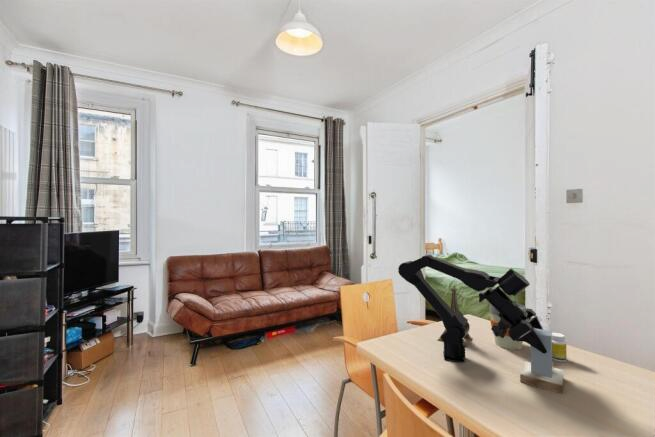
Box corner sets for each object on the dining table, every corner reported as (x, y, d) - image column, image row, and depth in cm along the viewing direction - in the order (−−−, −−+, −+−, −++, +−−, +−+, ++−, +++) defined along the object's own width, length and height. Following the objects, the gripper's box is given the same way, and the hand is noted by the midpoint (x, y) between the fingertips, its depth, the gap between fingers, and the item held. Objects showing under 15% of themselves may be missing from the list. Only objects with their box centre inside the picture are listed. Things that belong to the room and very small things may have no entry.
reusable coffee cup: (527, 342, 119) (526, 303, 119) (528, 354, 108) (527, 312, 108) (491, 335, 126) (490, 299, 126) (488, 347, 115) (487, 307, 115)
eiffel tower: (472, 338, 123) (471, 277, 124) (464, 347, 115) (463, 281, 115) (446, 332, 130) (445, 274, 130) (437, 340, 122) (435, 278, 122)
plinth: (520, 381, 91) (520, 373, 91) (524, 368, 98) (524, 360, 98) (562, 393, 84) (562, 384, 84) (563, 378, 92) (563, 369, 92)
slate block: (531, 372, 91) (530, 332, 91) (532, 366, 95) (531, 327, 95) (551, 377, 88) (550, 336, 88) (552, 370, 92) (551, 331, 92)
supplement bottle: (569, 362, 102) (569, 337, 102) (553, 361, 103) (553, 336, 103) (561, 356, 106) (561, 332, 106) (546, 355, 107) (546, 331, 107)
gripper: (490, 312, 108) (527, 351, 101) (477, 327, 94) (520, 373, 87) (515, 293, 104) (556, 332, 97) (506, 305, 89) (554, 353, 82)
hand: (546, 347), depth 91 cm, fingers open, 9 cm apart
